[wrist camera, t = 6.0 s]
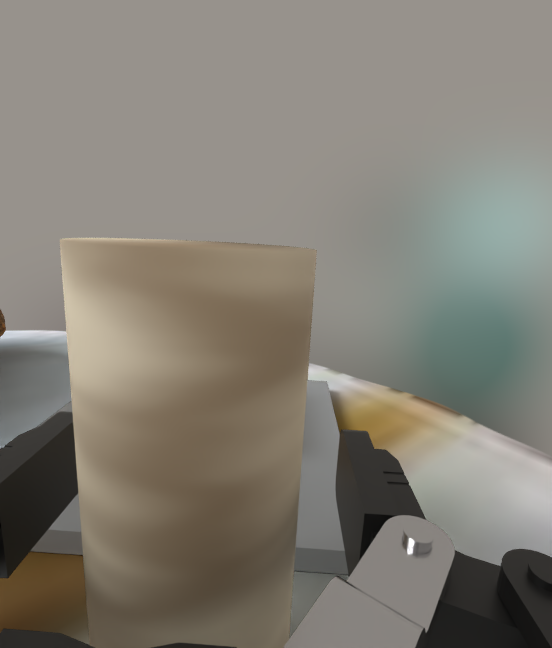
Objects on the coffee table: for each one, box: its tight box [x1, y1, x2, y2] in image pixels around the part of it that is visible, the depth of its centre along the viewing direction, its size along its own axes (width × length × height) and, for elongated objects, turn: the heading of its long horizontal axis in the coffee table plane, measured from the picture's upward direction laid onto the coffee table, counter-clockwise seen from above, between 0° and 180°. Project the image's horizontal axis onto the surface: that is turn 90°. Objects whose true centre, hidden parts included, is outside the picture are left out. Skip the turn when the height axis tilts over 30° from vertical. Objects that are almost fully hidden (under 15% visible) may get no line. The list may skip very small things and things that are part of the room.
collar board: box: [31, 380, 349, 575], centre depth 26 cm, size 20×20×5 cm
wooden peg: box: [60, 238, 317, 648], centre depth 10 cm, size 5×5×14 cm
